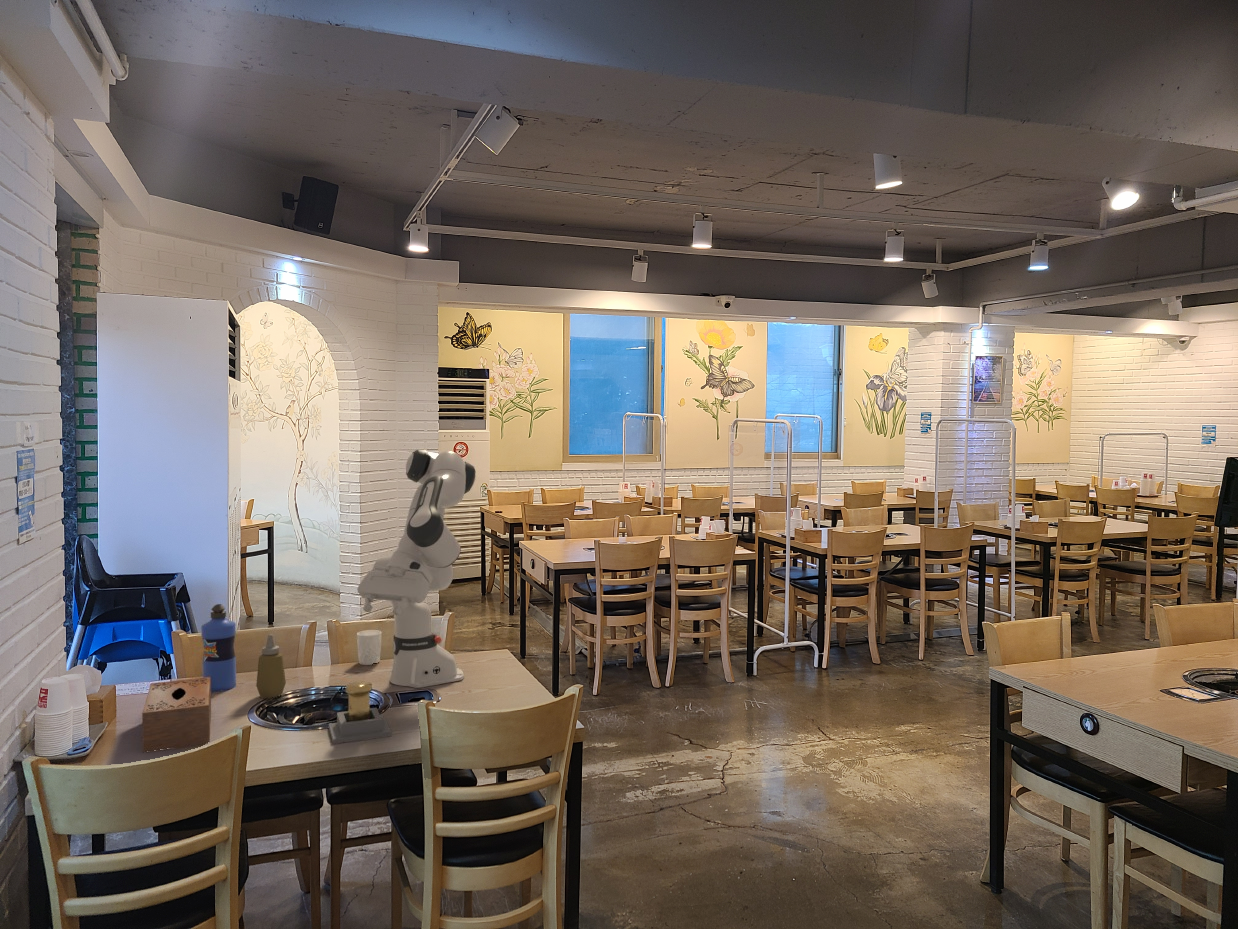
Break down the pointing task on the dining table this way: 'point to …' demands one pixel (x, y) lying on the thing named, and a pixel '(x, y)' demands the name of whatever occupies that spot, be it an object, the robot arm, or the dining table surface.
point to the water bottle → (219, 650)
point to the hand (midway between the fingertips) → (380, 612)
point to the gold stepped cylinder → (359, 700)
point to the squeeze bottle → (270, 671)
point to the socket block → (358, 728)
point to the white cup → (369, 646)
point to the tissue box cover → (177, 714)
